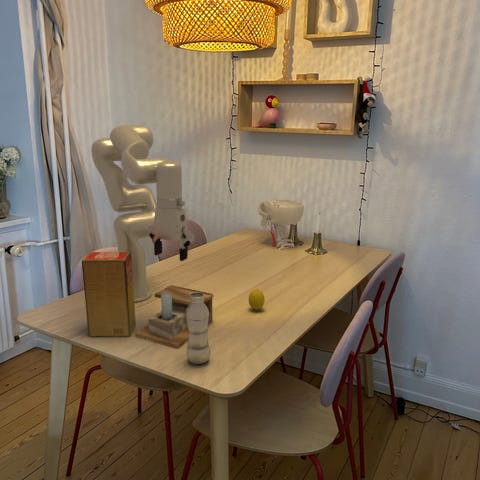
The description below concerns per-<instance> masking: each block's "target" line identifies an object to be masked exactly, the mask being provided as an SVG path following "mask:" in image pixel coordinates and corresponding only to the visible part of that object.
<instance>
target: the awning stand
mask: <svg viewBox="0 0 480 480" xmlns="http://www.w3.org/2000/svg"><path fill="white" fill-rule="evenodd" d="M194 292H200V293H203V294H204V302H203V303H204V304H205V305H206V307H207V308H208V310H209V319H208V326H209V325H211V324H212V323H213V322H214V321H213V318H214V317H213V298H214V294H213V293H210V292H205V291H200V290H195V289H191V288H188V287H187V288H185V287H182V286H178V285H177V286H176V285H173V284H169V286H166V287H165V288H162V290H159V291H157V292H156V293H154V297H155V298H157V299H161V295H162V294H164V293H170V294H172V319H171V320H170V321H166V320H162V310H160V311H159V312H157V313H156V314H154V315H152V316H151V317H150V318H148V324H147V325H146V326H144V327H142V328H141V329H139V330H137V331H136V332H135V333H134V337H135V336H136V338H138V337H140V338H139V339H142V338H144V339H143V340H146V339H148V340H147V341H149V340H151V341H150V342H153V341H154V343H156V342H157V343H156V344H160V343H161V344H160V345H163V344H164V345H165V346H168V347H171V348H175V349H180V348H181V347H182V346H184V345H185V344H186V343H188V326H187V320H186V314H185V312H186V309H187V307H188V306H189V305H190V303H191V302H190V294H191V293H194Z"/></svg>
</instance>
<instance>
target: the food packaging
mask: <svg viewBox="0 0 480 480" xmlns="http://www.w3.org/2000/svg"><path fill="white" fill-rule="evenodd" d="M81 272H82V281H83V290H84V300H85V309H86V322H87V325H86V326H87V333H88V337H89V338H98V337H97V336H101V338H104V337H103V336H108V337H107V338H111V337H110V336H114V338H124V337H123V336H130V337H131V336H132V334H133V332H134V329H135V326H136V309H135V302H134V291H133V274H132V258H131V252H118V251H90V252H89V253H87V254H86V256H84V258H83V259H82V260H81ZM115 336H116V337H115ZM117 336H118V337H117ZM120 336H122V337H120Z"/></svg>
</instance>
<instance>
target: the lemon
mask: <svg viewBox="0 0 480 480" xmlns="http://www.w3.org/2000/svg"><path fill="white" fill-rule="evenodd" d="M265 300H266V299H265V294H264V292H262V290H260V289H258V288H256V289H254V290H251V291H250V293H249V295H248V305H249V306H250V307H251V308H252V309H253V310H255V311H258V310H261V309H262V308H263V306H264V305H265V302H266V301H265Z"/></svg>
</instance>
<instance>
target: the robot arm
mask: <svg viewBox="0 0 480 480" xmlns="http://www.w3.org/2000/svg"><path fill="white" fill-rule="evenodd" d="M153 144H154V134H153V132H152V130H151V129H150V128H149V127H148V126H147V125H144V124H129V125H128V124H127V125H125V124H124V125H122V124H121V125H117V126H116V127H114V128H112V130H111V131H110V133H109V137H103V138H98V139H96V140H95V141H94V142H93V143H92V145H91V158H92V162H93V164H94V166H95V168H96V169H97V171H98V173H99V174H100V176H101V178H102V181H103V183H104V187H105V189H106V190H105V191H106V193H107V197H108V200H109V203H110V206H111V208H112V211H113V210H114V212H116V213H124V214H120V215H118V216H117V217H116V218H115V219H114V221H113V224H112V225H113V230H114V234H115V235H114V236H115V240H116V243H117V245H116V246H117V252H131V258H132V274H133V291H134V303H137V302H138V303H139V302H143V301H146V300H148V299H149V298H150V297H151V296H152V290H151V289H150V288H148V283H147V281H148V280H147V266H146V263H147V262H146V251H145V249H144V246H143V245H142V244H141V242H139V241H138V240H140V239H143V238H145V239H146V238H150V239H151V242H152V244H153V251H154V253H153V254H154V256H158V255H161V254H162V253H163V241H162V240H165V241H171V242H174V243H175V242H176V243H177V244H178V245H179V247H180V248H179V261H180V262H184V261H185V260H187V259H188V254H189V251H188V248H189V247H190V246H191V245H192V244H193V241H194V239H195V237H196V236H195V234H193V233H192V232H191V231H190V230H189V228H188V218H187V212H186V209H185V208H184V206H185V205H186V203H185V201H183V184H182V183H183V182H182V181H183V179H182V178H183V175H182V173H183V171H182V168H183V167H182V164H181V163H180V162H178V161H173V160H172V159H170V158H167V157H157V158H156V157H155V158H154V157H153V158H151V157H150V158H148V156H149V154H150V149H151V148H152V146H153ZM115 162H121V163H120V165H121V167H120V166H119V165H118V164H116V163H115ZM129 181H131V182H132V183H134V184H130V182H129ZM149 184H150V185H151V184H155V185H156V188H155V189H156V198H155V195H154V192H153V190H152V189H151V187H150V186H149ZM136 211H137V212H136ZM138 211H139V212H138Z"/></svg>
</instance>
